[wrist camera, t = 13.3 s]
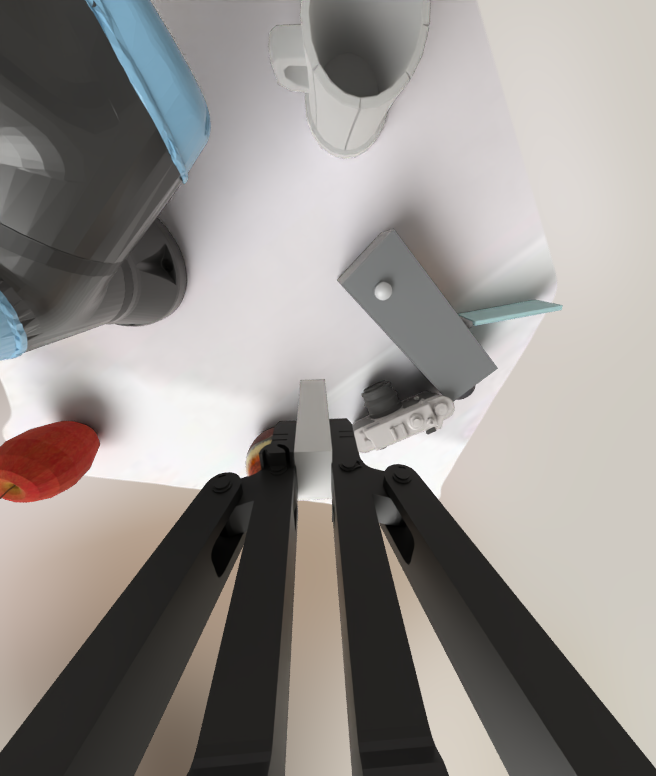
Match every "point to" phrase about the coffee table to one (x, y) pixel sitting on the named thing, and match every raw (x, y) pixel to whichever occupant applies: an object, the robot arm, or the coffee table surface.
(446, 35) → the coffee table surface
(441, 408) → the camera
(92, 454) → the apple
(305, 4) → the cup
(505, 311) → the side door
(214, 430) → the coffee table surface
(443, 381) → the long gray box
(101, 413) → the coffee table surface
